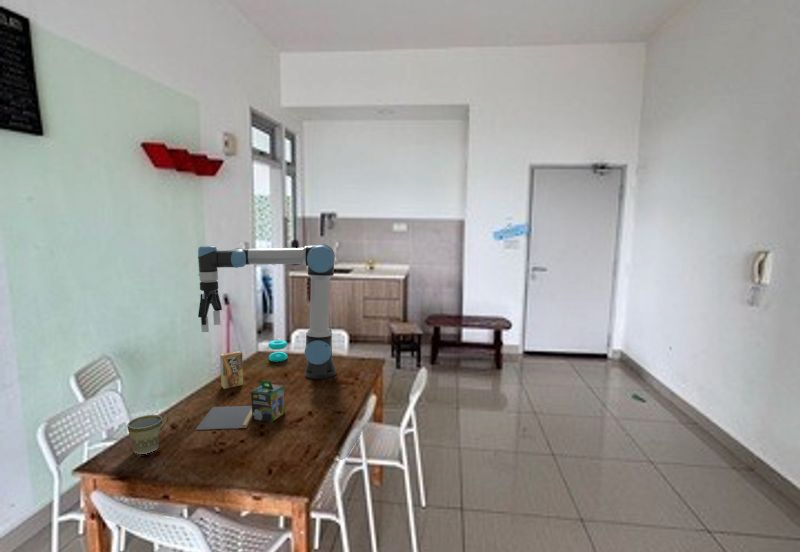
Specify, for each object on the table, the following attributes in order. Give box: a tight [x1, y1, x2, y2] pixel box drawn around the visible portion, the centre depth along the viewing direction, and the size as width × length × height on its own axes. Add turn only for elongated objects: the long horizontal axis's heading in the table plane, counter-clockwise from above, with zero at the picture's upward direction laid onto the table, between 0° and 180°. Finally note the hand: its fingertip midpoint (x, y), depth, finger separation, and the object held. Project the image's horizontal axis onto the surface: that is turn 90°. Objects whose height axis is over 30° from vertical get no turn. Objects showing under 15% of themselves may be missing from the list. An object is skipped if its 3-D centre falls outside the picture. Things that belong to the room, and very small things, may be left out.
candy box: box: [219, 350, 244, 390], centre depth 206 cm, size 9×4×15 cm, turn 129°
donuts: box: [267, 339, 289, 363], centre depth 246 cm, size 10×10×10 cm
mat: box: [195, 405, 253, 431], centre depth 173 cm, size 18×20×2 cm
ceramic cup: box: [126, 414, 170, 455], centre depth 149 cm, size 13×10×10 cm
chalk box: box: [250, 379, 286, 424], centre depth 174 cm, size 9×9×15 cm
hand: (211, 328), depth 201 cm, fingers open, 13 cm apart
